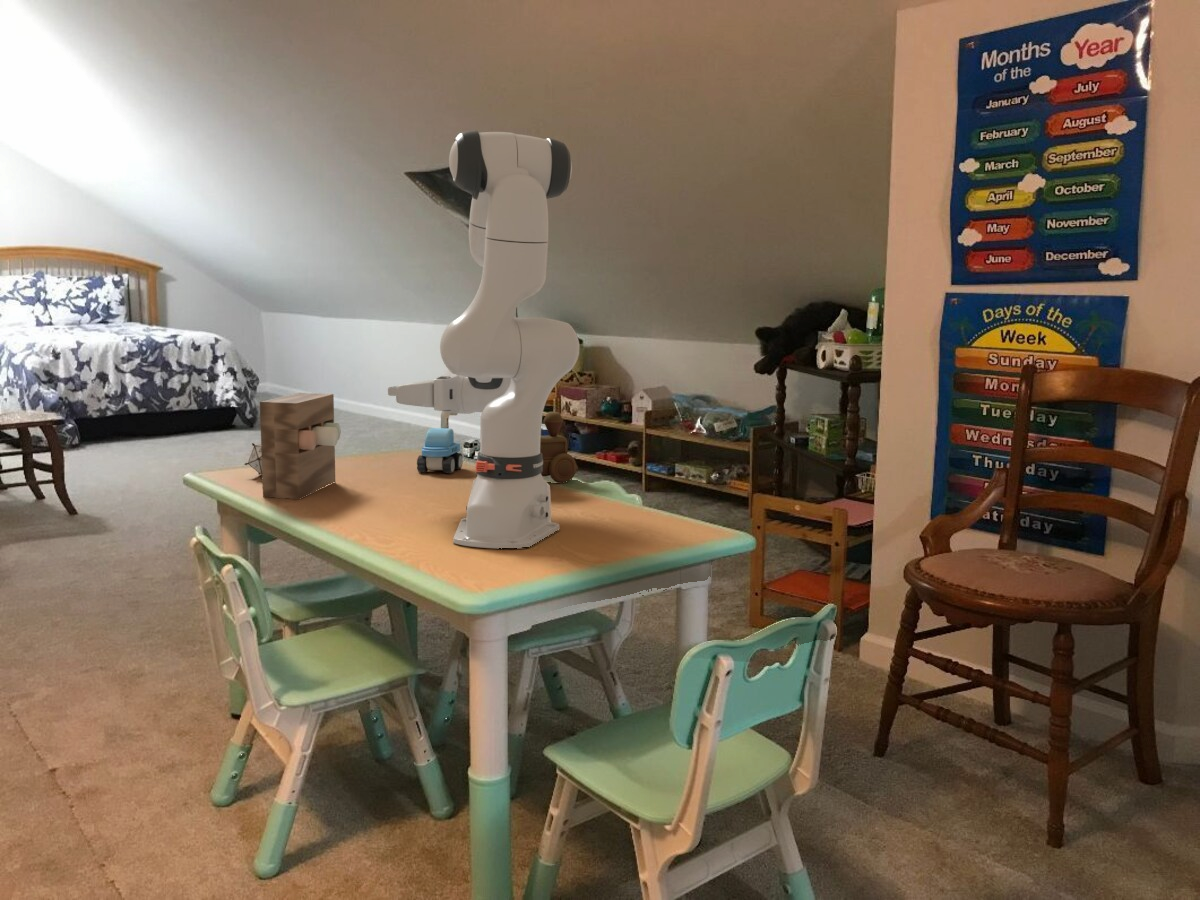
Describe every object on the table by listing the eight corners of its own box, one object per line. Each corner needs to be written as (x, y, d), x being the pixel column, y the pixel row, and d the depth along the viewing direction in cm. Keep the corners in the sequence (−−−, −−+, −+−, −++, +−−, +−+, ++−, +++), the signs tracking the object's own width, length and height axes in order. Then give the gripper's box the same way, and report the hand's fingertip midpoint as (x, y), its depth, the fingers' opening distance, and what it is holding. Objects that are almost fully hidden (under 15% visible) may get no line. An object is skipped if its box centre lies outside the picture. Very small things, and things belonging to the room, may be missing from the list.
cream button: (338, 444, 212) (338, 426, 211) (330, 447, 208) (330, 428, 207) (312, 443, 212) (311, 424, 212) (303, 445, 209) (303, 427, 208)
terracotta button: (317, 448, 206) (316, 429, 205) (308, 451, 202) (308, 432, 201) (290, 446, 207) (289, 428, 206) (281, 450, 203) (280, 430, 202)
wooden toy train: (502, 489, 217) (502, 415, 215) (482, 480, 227) (482, 409, 224) (581, 482, 227) (583, 411, 224) (559, 474, 237) (560, 405, 234)
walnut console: (335, 482, 221) (333, 394, 217) (299, 499, 203) (296, 403, 200) (301, 480, 222) (299, 392, 218) (263, 497, 204) (259, 401, 201)
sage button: (340, 439, 218) (340, 421, 217) (333, 442, 214) (332, 424, 213) (315, 438, 219) (314, 420, 218) (307, 441, 215) (306, 423, 214)
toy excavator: (471, 463, 248) (471, 396, 245) (449, 476, 232) (449, 403, 229) (438, 462, 249) (438, 394, 246) (415, 474, 233) (414, 402, 230)
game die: (267, 490, 229) (277, 452, 233) (288, 482, 224) (298, 443, 228) (233, 475, 223) (244, 436, 227) (254, 466, 218) (265, 427, 222)
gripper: (467, 374, 214) (406, 373, 216) (439, 379, 193) (372, 378, 195) (468, 403, 214) (407, 402, 216) (439, 411, 194) (372, 409, 196)
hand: (390, 390), depth 206 cm, fingers closed
